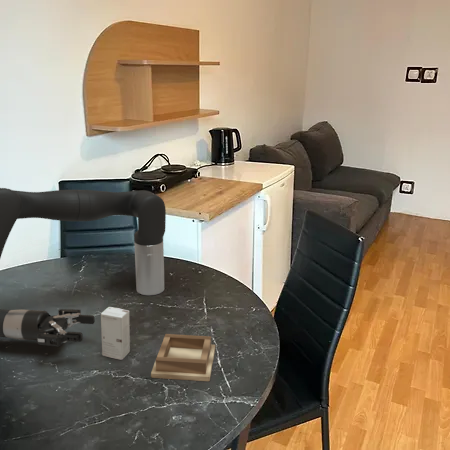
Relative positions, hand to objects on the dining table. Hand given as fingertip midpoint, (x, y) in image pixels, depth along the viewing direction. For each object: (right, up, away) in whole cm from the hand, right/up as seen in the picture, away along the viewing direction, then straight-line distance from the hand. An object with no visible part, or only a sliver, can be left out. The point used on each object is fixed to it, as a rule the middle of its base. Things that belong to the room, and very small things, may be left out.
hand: (88, 328), depth 122 cm
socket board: (+25, -8, -2) cm, 26 cm away
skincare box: (+7, -7, +2) cm, 10 cm away
